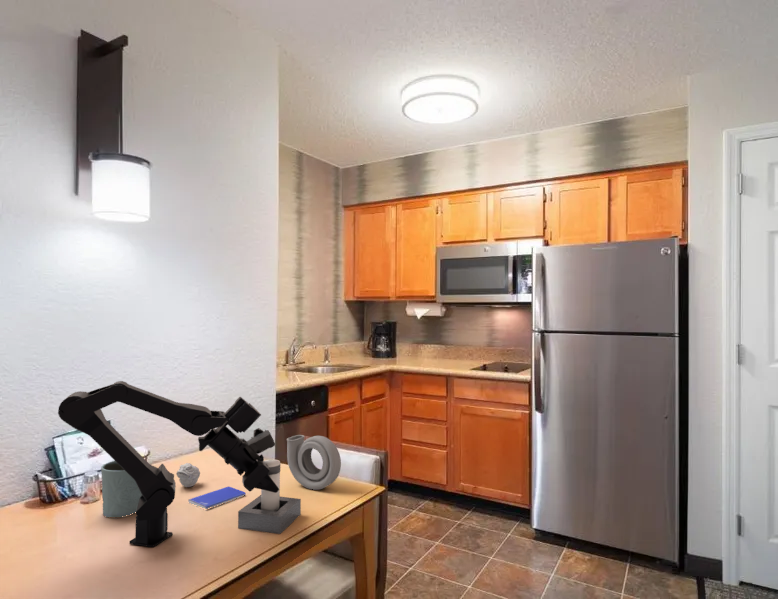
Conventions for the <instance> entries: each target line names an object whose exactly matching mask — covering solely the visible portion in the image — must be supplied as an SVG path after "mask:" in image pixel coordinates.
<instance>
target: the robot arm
mask: <svg viewBox="0 0 778 599" xmlns="http://www.w3.org/2000/svg"><path fill="white" fill-rule="evenodd" d="M115 403H121V404H124V405H127V406H130V407H131V408H135V409H138V410H142V411H144V412H146V413H150V414H153V415H155V416H157V417H161V418H164V419H166V420H168V421H171V422H172V423H173V424H176V426H178V427H179V428H181V429H183V430H185V431H186V432H188V433H190V434H191V435H193V436H196V437H198V438H197V440H198V451H200V452H203V451H204V449H205V448H207V446H208V447H209V448H210V449H211V450H212V451H214V452H215V453H216V454H217V455H218V456H220V457H221V458H222V459H223V461H224V463H225V465H230V466H231V467H232V468H233V469H235V470H236V473H237V474H238V475H239V476H242V477H241V479H242V481H241V482H242V486H243V487H244V489H246V490H247V491H249V492H252V491H253V490H254V489H257V490H261V489H262V490H266V491H270V492H275V493H277V492H278V491H279V488H278V487H277V485H276V484H275V483H274V481H273V480H272V479H271V477H270V476H269V475H268V472H269V467H268V465H267V464H265V463H264V462H263V461H265V459H264V455H263V454H262V452H264V451H267V450H268V449H272V448H274V447H275V446H276V442H275V440H274V437H273V436H272V433H271V432H270V431H269V430H268V429H264V430H263V429H261V428H260V427H258V428H256V429H254V430H253V436H251V437H250V439H248V440H246V439H245V438H240V437H239V436H237V434H239V433H240V434H241V433H242V432H243V433H245V432H247V430H248V429H249V428H250V427H251V426H252V425H253V424H254V423H255V422H256V421H257V420H258V419H260V417H261V416H262V414H261V413H260V412H259V411H258V409H256V408H255V406H253V405H252V404H251V402H250V403H249V402H248V401H247V400H245V399H244V398H243V397H242V396H239V397H238V398H237V399H236V400H235V402H234V403H233V404H232V405H231V406H230V407H229V408H228V409H227V410H226V411H223V410H210V409H209V408H208V407H206V406H203V405H198V404H193V403H185V402H177V401H174V400H173V399H169V398H166V397H164V396H161V395H158V394H155V393H154V392H153V393H152V392H150V391H147V390H145V389H143V388H140V387H136V386H135V385H131V384H129V383H128V382H127V381H123V380H118V381H116V382H114V383H112V384H109V385H106V386H103V387H99V388H95V389H94V390H91V391H75V392H73V393H71V394H69V396H67V397H66V398H64V399H63V400H62V401H61V402H60V404H59V405H58V412H57V414H58V418H60V420H62V421H63V422H64V423H65V424H67V425H69V426H70V427H72V428H74V430H77V431H79V432H81V433H83V434H85V435H87V436H88V437H90V438H91V439H93V441H94V442H95V443H97V445H98V446H99V447H101V449H103V451H104V452H105V453H106V454H107V455H108V456H110V458H112V460H113V461H116V462H117V463H118V464H119V465H120V466H121V467H122V468H123V469H124V470H125V471H126V472H127V473H128V474H129V475H130V476H131V477H132V478H133V479H134V480H135V482H136V484H137V486H138V488H139V490H140V492H141V494H142V496H141V497H140V498H139V501H138V506H137V510H136V513H135V514H136V515H135V531H134V532H135V533H134V535H135V536H134V537H133V538H132V539H131V540H129V543H128V544H130V545H136V546H141V547H146V548H147V547H148V548H154V547H157V545H160V544H161V543H163V542H164V541H165V540H167V539H168V538H170V537H172V536H173V534H174V533H173V532H172V531H168V526H169V524H168V521H169V520H168V519H169V516H168V507H169V506H170V505H171V504H172V503H173V502H174V500H175V498H176V487H177V486H176V480H175V474H174V473H173V472H170V471H169V469H167V466H165V465H164V463H161V464H160V465H159V466H158V467H156V466H154V465H152V464H151V463H149V462H148V461H147V460H146V459H145V458H144V457H143V456H142V455H141V454H140V453H139V452H138V450H136V449H135V448H134V447H133V446H132V445H131V443H129V441H127V440H126V438H124V437H123V436H122V435H121V433H119V432H118V431H117V430H116V428H115V427H113V426H112V424H110V422H108V420H107V419H106V417H105V415H104V413H103V411H102V409H104V408H106V407H108V406H111V405H112V404H115ZM227 426H228V427H227ZM230 428H231V429H232V430H233V431H234V432H236V433H234V432H233V431H232V430H231V429H230Z"/></svg>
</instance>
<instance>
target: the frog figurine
mask: <svg viewBox="0 0 778 599" xmlns="http://www.w3.org/2000/svg"><path fill="white" fill-rule="evenodd" d="M200 474H201V471H200V468H199V467H197V465H193V464H192V463H191V462H186V463H184V464H180V465H179V469H178V470H177V471H176V477H177V478H179V479H178V481H179V483H180V484H181V485H182V487H185V488H192V487H193V486H195V485H197V483H198V481H199V477H200V476H201V475H200Z"/></svg>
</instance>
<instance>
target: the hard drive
mask: <svg viewBox="0 0 778 599" xmlns="http://www.w3.org/2000/svg"><path fill="white" fill-rule="evenodd" d="M244 495H246V496H247V494H246V492H245V491H242V490H240V489H237V488H234V487H232V486H225V487H221V488H220V489H216V490H213V491H210V492H207V493H205V494H202V495H198V496H195V497H192V498H190V499H188V502H189V503H188V504H190V503H191V504H190V505H192V504H194V505H197V506H200V507H202V508H205V509H208V508H210V507H214V506H217V505H220V504H222V503H225V504H227V503H226V502H228V501H231V502H233V501H235V500H234V499H236V498H239V497H242V496H244ZM244 497H245V496H244ZM242 498H243V497H242ZM239 499H240V498H239ZM232 500H233V501H232ZM236 500H237V499H236ZM228 503H229V502H228ZM194 505H193V506H194ZM197 506H196V507H197ZM220 506H221V505H220ZM217 507H218V506H217ZM214 508H215V507H214Z"/></svg>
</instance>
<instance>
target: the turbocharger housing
mask: <svg viewBox="0 0 778 599" xmlns="http://www.w3.org/2000/svg"><path fill="white" fill-rule="evenodd" d="M305 437H306V436H305V435H303V434H297V435H292V436H291V437H288V438H286V442H287V443H286V444H287V445H286V446H287V447H286V448H287V449H286V451H287V452H286V459H287V465H288V468H289V470H290V473H291V475H292V476H293V478H294V479H295V481H296V482H297V483H299V484H300V485H301V486H303V487H304V488H306V489H308V490H312V489H313V491H315V490H318V491H319V490H322V489H325V488H326V487H328V486H330V485H332V484H333V483H334V482H335V481H336V480H337V479H338V477H339V475H340V472H341V468H342V467H341V466H342V462H341V461H342V459H341V456H340V452H339V449H338V448H337V446H336V445H335V443H334V442H333V441H332V440H330V439H329V437H326V436H323V435H314V436H310V437H308V438H306V439H305ZM313 450H316V451H317V453H318V454H319V455H320V457H321V461H322V465H321V469H320V468H318V467H317V466H316V465H315V464H314V462H313V458H312V452H313Z"/></svg>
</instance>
